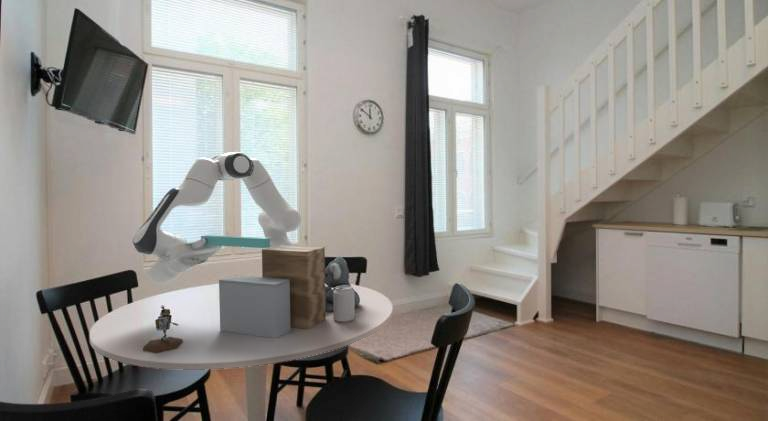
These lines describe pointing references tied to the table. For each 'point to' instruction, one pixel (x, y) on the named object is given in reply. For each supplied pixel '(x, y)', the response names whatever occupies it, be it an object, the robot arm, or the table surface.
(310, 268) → the tall wooden block
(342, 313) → the can
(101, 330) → the table surface
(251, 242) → the teal bar
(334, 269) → the koala plush
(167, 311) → the robot figurine
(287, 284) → the low stand
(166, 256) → the robot arm
